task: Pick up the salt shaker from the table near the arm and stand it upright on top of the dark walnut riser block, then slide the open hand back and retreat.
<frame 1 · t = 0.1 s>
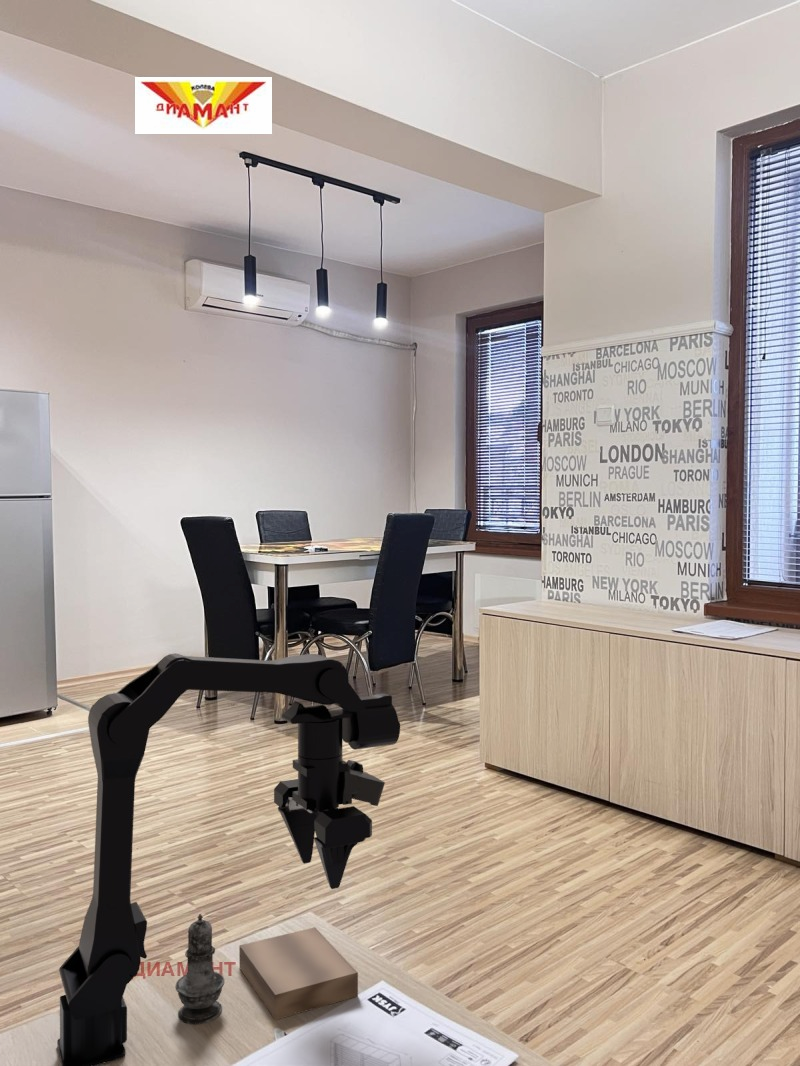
hand: (320, 874, 110), 15 cm above the table, tool pointing down, fingers open, 9 cm apart
walnut riser: (296, 981, 112), on the table
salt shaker: (200, 1013, 105), on the table
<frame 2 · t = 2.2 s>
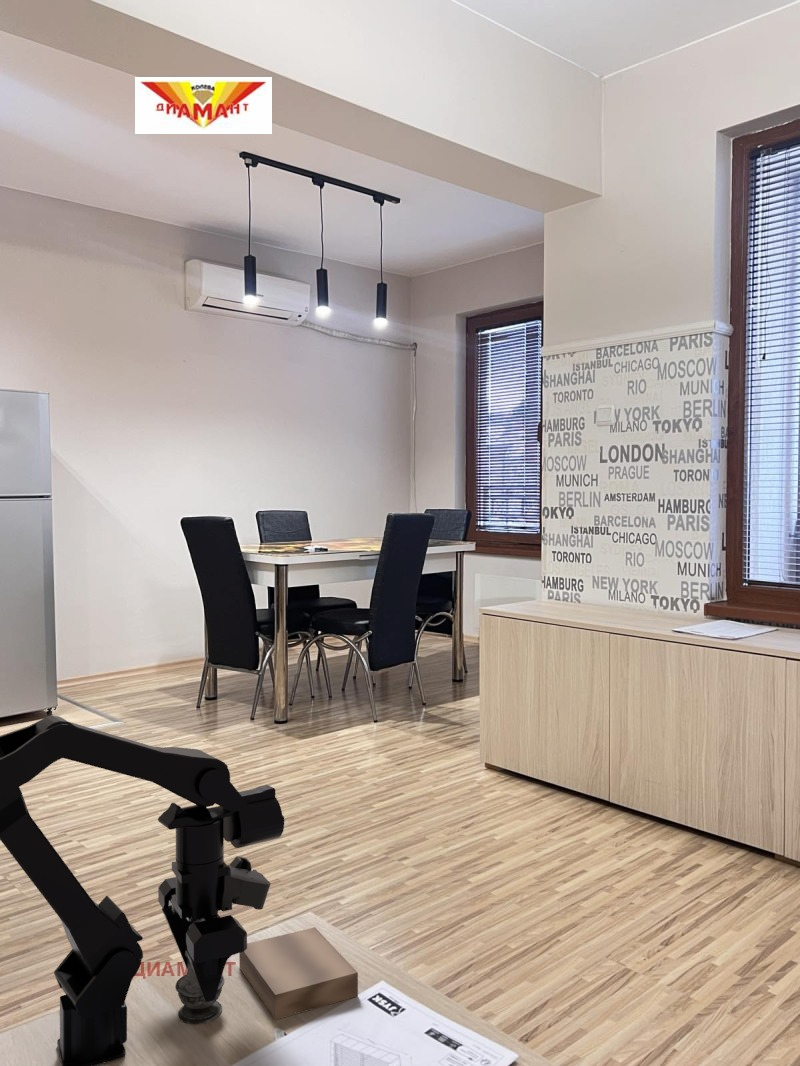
hand: (200, 983, 105), 3 cm above the table, tool pointing down, fingers closed on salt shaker, 8 cm apart
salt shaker: (200, 1013, 105), on the table, touching gripper
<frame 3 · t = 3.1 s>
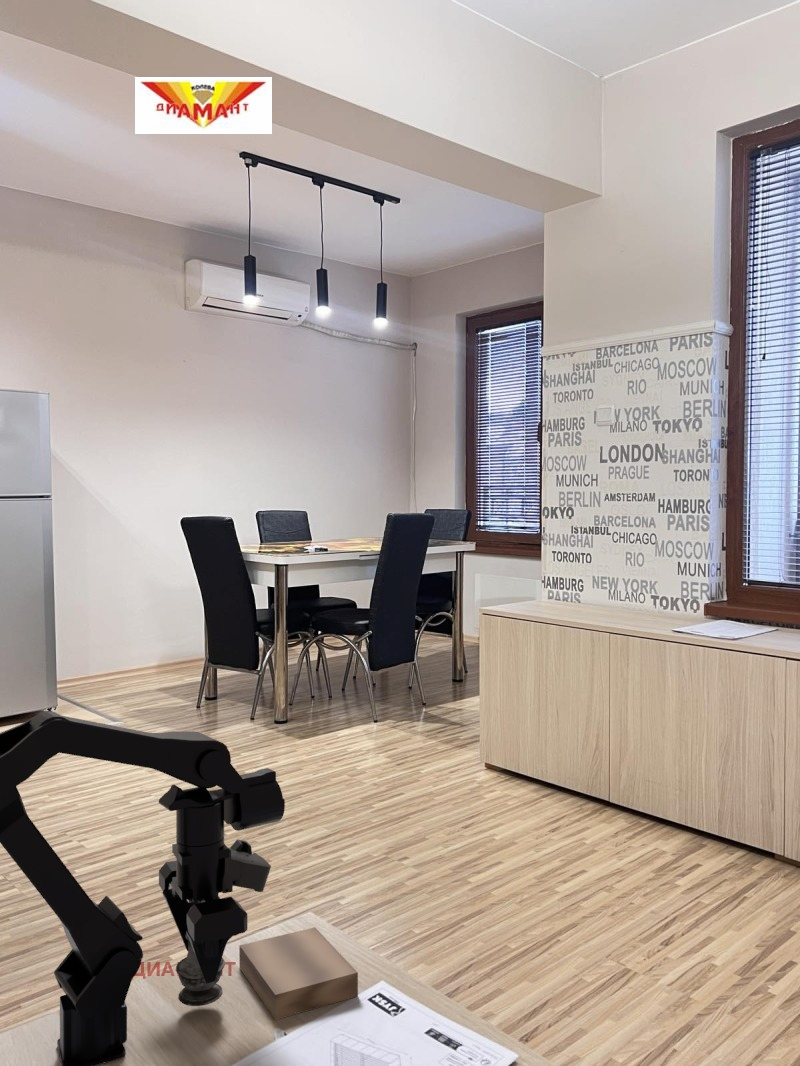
hand: (200, 965, 105), 6 cm above the table, tool pointing down, fingers closed on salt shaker, 8 cm apart
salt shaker: (200, 995, 105), point 2 cm above the table, touching gripper
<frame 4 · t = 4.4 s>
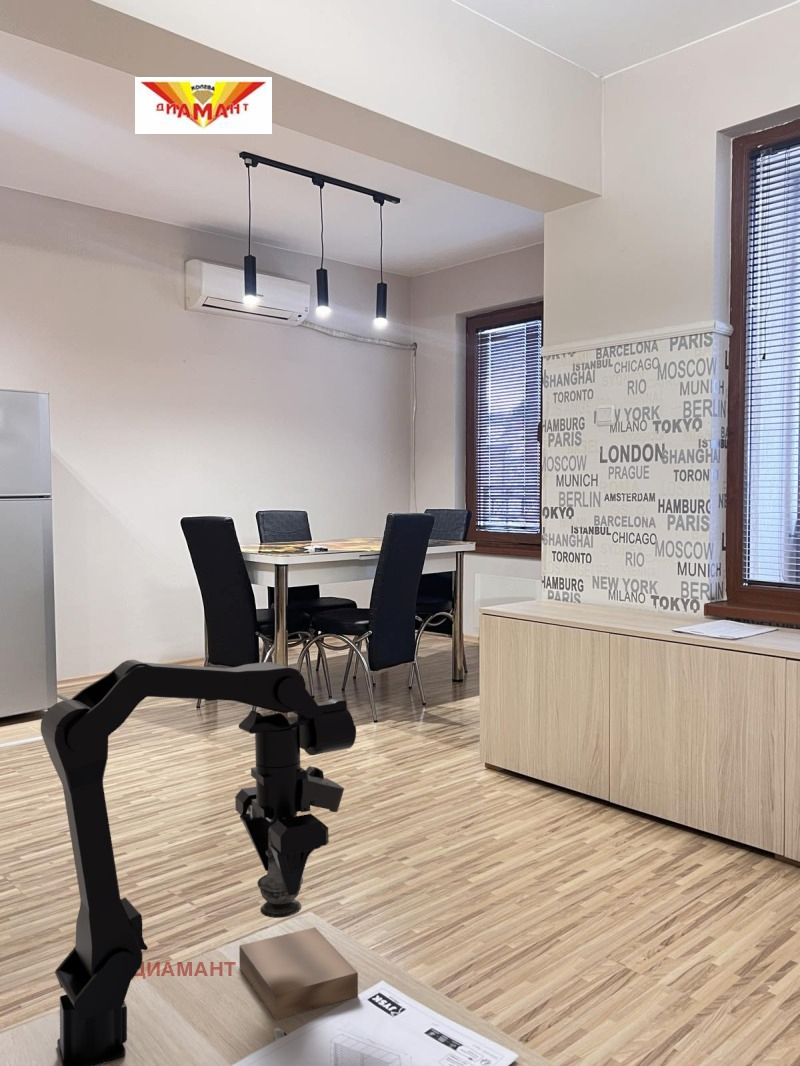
hand: (280, 881, 110), 14 cm above the table, tool pointing down, fingers closed on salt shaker, 8 cm apart
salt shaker: (280, 909, 110), point 10 cm above the table, touching gripper
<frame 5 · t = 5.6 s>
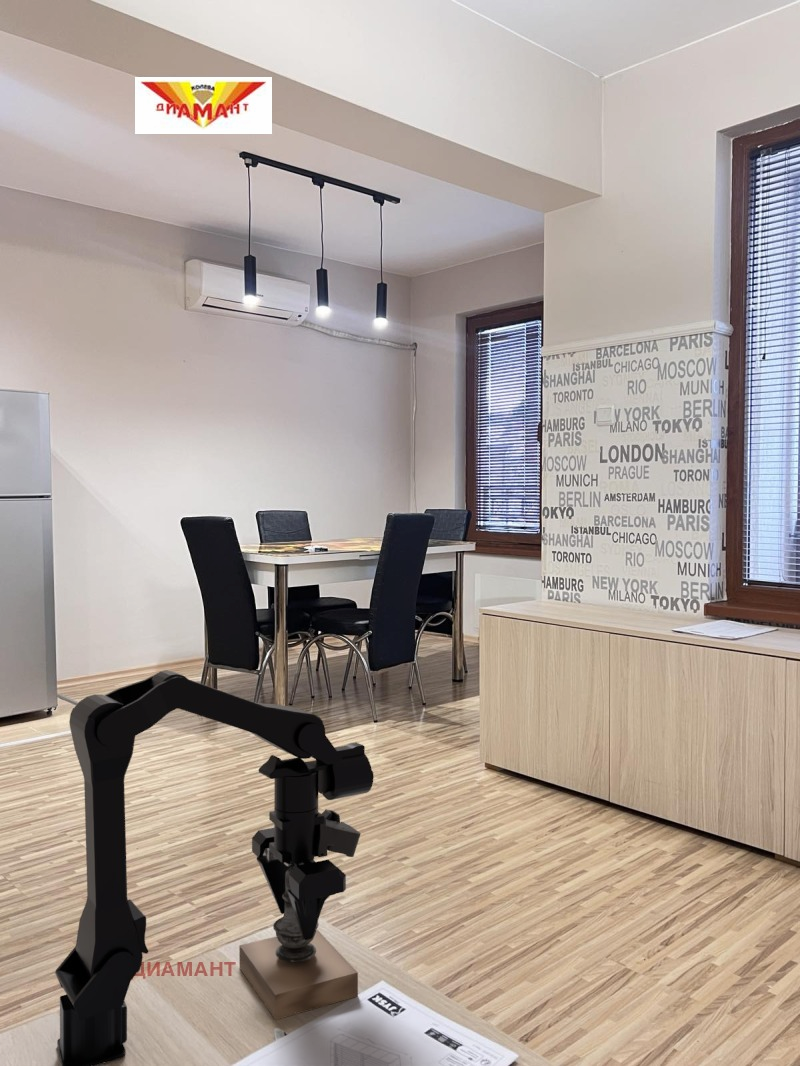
hand: (296, 925, 111), 7 cm above the table, tool pointing down, fingers closed on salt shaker, 8 cm apart
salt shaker: (295, 953, 112), point 4 cm above the table, touching gripper
when the fingers open (7 cm above the table, at t = 6.6 s): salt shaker stays where it is, resting on walnut riser.
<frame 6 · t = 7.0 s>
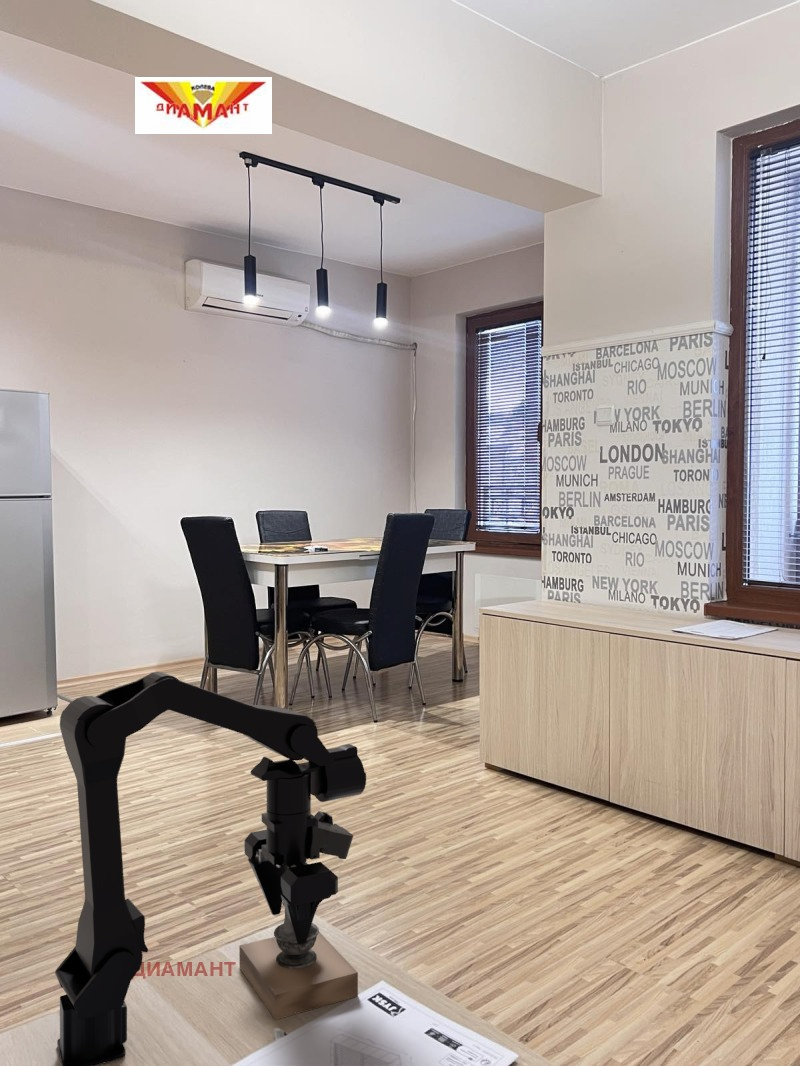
hand: (288, 928, 111), 7 cm above the table, tool pointing down, fingers open, 9 cm apart
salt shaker: (296, 959, 112), point 3 cm above the table, touching walnut riser
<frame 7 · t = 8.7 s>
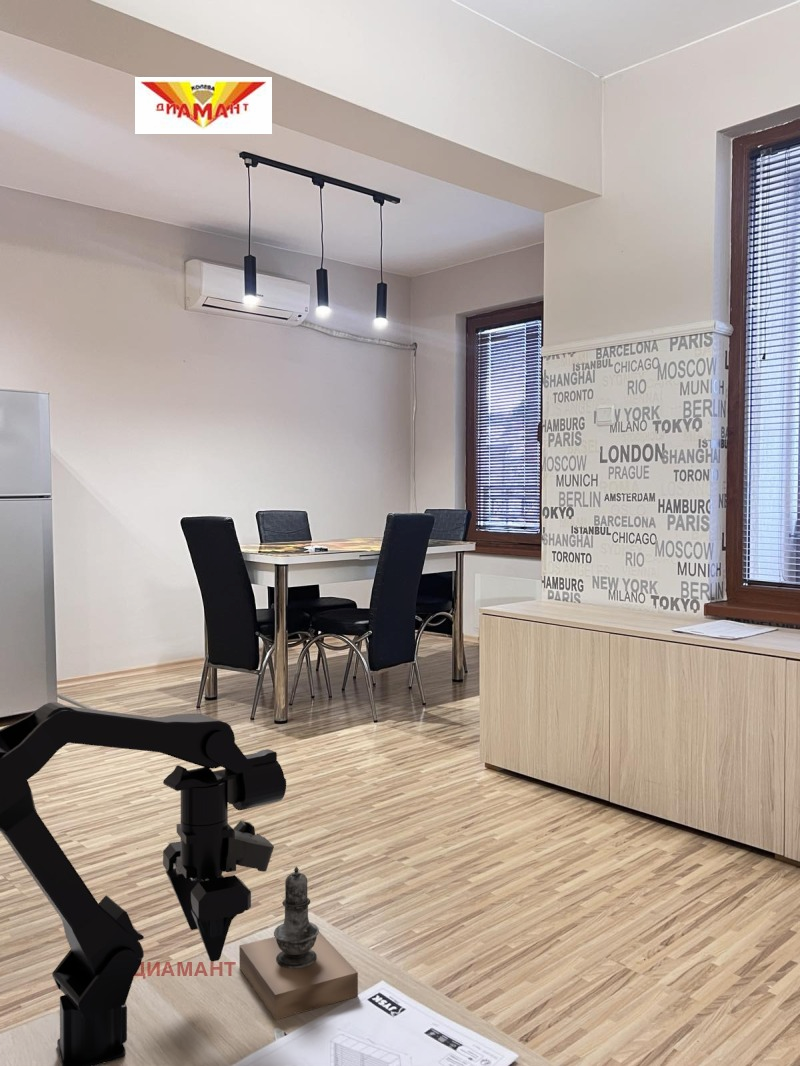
hand: (204, 944, 106), 8 cm above the table, tool pointing down, fingers open, 9 cm apart
nothing on the table moved.
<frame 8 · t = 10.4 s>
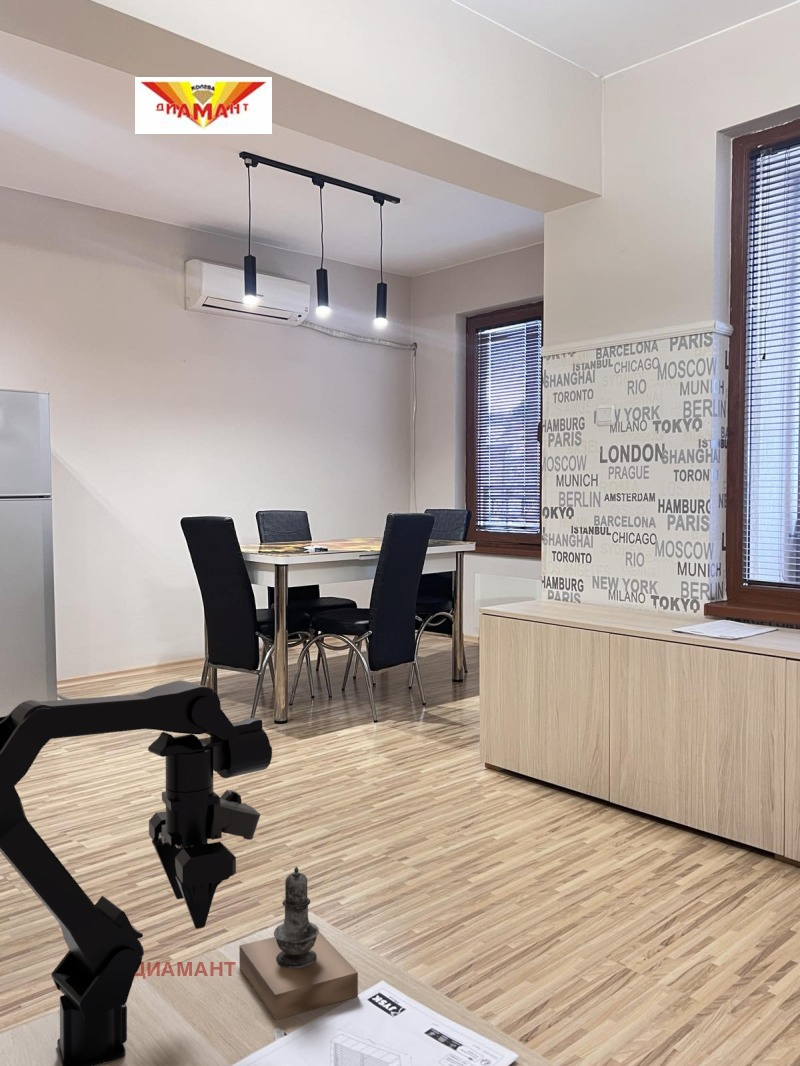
hand: (189, 912, 105), 12 cm above the table, tool pointing down, fingers open, 9 cm apart
nothing on the table moved.
at the end: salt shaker inside the target area on the walnut riser (0.0 cm from its centre), point 2.8 cm above the walnut riser's base; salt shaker tilted 0°; the gripper is holding nothing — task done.
